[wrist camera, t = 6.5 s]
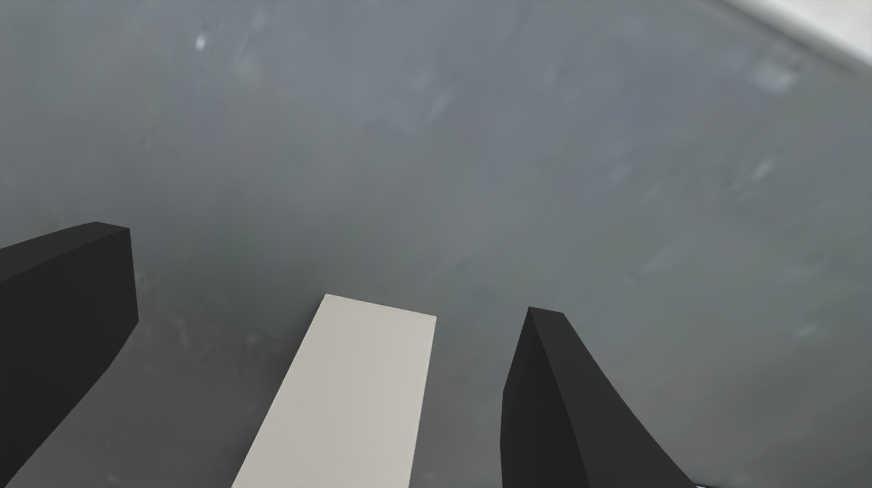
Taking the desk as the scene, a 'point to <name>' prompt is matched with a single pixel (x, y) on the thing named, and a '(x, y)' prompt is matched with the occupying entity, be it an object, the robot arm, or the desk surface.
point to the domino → (346, 402)
